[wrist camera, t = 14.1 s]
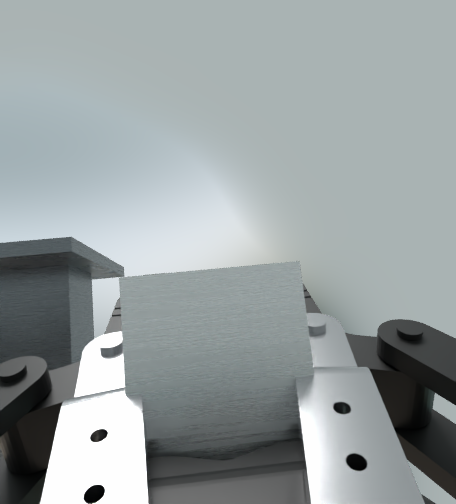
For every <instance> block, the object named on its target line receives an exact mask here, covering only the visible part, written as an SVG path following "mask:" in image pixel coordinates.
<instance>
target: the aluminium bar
mask: <svg viewBox="0 0 456 504" xmlns="http://www.w3.org/2000/svg"><path fill="white" fill-rule="evenodd" d="M119 283H120V303H121V323H122V342H123V362H124V381H125V396H126V395H135V394H142V401H143V408H144V416H145V423H146V430H147V437H148V457H149V458H155V457H163V456H172V455H173V456H183V457H192V458H201V459H211V460H221V461H225V460H230V459H233V458H236V457H239V456H242V455H245V454H248V453H250V452H253V451H256V450H259V449H262V448H265V447H267V446H270V445H273V444H276V443H282V442H291V441H299V440H300V437H299V430H298V425H297V406H296V383H295V377H301V376H310V375H314V367H313V360H312V352H311V344H310V336H309V329H308V321H307V313H306V306H305V298H304V290H303V283H302V275H301V267H300V261H296V262H285V263H274V264H263V265H252V266H243V267H242V266H241V267H230V268H220V269H208V270H198V271H187V272H177V273H165V274H154V275H143V276H132V277H121V278H119Z"/></svg>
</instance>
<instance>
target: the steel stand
mask: <svg viewBox="0 0 456 504" xmlns="http://www.w3.org/2000/svg"><path fill="white" fill-rule="evenodd" d="M111 277H112V278H113V277H124V267H122V266H121V265H119V264H117V263H115V262H114V261H112V260H110V259H109V258H107V257H105V256H103V255H102V254H100V253H98V252H96V251H95V250H93V249H91V248H90V247H88V246H86V245H84V244H83V243H81V242H79V241H77V240H76V239H74V238H72V237H66V238H53V239H42V240H30V241H19V242H7V243H0V364H1V363H4V362H6V361H8V360H11V359H15V358H19V357H24V356H36V357H40V358H42V359H44V360H45V361H46V363H47V367H48V370H49V371H51V370H54V369H57V368H61V367H64V366H68V365H71V364H74V363H76V362H79V361H81V357H82V352H83V349H84V348H85V346H86V345H87V344H88V343H89V342H91V341H92V340H94V328H93V327H94V326H93V302H92V279H102V278H111ZM2 457H3V454H2V451H1V448H0V459H1V458H2ZM39 504H40V503H39Z"/></svg>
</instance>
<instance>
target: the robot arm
mask: <svg viewBox="0 0 456 504" xmlns="http://www.w3.org/2000/svg"><path fill="white" fill-rule="evenodd" d="M273 264H274V263H273ZM262 265H263V264H262ZM162 274H165V273H162ZM152 275H154V274H152ZM303 290H304V298H305V306H306V313H307V321H308V329H309V336H310V344H311V352H312V360H313V367H314V375H310V376H301V377H295V383H296V406H297V425H298V430H299V437H300V440H299V441H291V442H282V443H276V444H273V445H270V446H267V447H265V448H262V449H259V450H256V451H253V452H250V453H248V454H245V455H242V456H239V457H236V458H233V459H230V460H225V461H221V460H211V459H201V458H192V457H183V456H173V455H172V456H163V457H155V458H149V457H148V437H147V430H146V423H145V416H144V408H143V401H142V394H135V395H126V396H125V381H124V362H123V342H122V323H121V303H120V298H119V299H118V300H117V303H116V306H115V310H114V311H113V313H112V317H111V318H110V321H109V324H108V326H107V329H106V331H105V334H104V335H102V336H100V337H98V338H96V339H94V340H92V341H91V342H89V343H88V344H87V345H86V346H85V348H84V349H83V352H82V357H81V361H79V362H76V363H74V364H71V365H68V366H64V367H61V368H57V369H54V370H51V371H49V370H48V367H47V363H46V361H45V360H44V359H42V358H40V357H36V356H24V357H19V358H15V359H11V360H8V361H6V362H4V363H1V364H0V448H1V451H2V454H3V457H2V458H1V459H0V504H39V503H40V504H435V503H434V502H432V501H431V500H429V499H428V498H426V497H425V496H423V495H422V494H421V493H420V490H419V488H418V486H417V483H416V481H415V478H414V476H413V473H412V471H411V468H410V466H409V464H408V461H407V460H409V461H410V462H411V463H412V464H413V465H414V466H416V467H417V468H418V469H419V470H421V471H422V472H423V473H424V474H425V475H427V476H428V477H429V478H430V479H432V480H433V481H434V482H435V483H436V484H438V485H439V486H440V487H441V488H443V489H444V490H445V491H446V492H447V493H449V494H450V495H451V496H452V497H453V498H455V499H456V424H454V423H453V422H451V421H450V420H448V419H447V418H445V417H444V416H442V415H441V414H439V413H438V412H436V411H435V410H433V409H432V408H433V401H434V394H435V393H437V394H438V395H440V396H441V397H443V398H445V399H446V400H448V401H450V402H451V403H453V404H454V405H456V338H453V337H451V336H449V335H447V334H445V333H443V332H441V331H439V330H436V329H434V328H432V327H430V326H428V325H426V324H423V323H420V322H416V321H412V320H402V319H398V320H390V321H387V322H384V323H382V324H381V325H380V326H379V328H378V334H377V337H371V336H360V335H352V334H348V333H345V332H344V329H343V327H342V325H341V323H340V322H339V321H338V320H337V319H335V318H333V317H331V316H328V315H325V314H322V313H321V312H320V310H319V308H318V307H317V305H316V304H315V302H314V301H313V299H312V298H311V296H310V294H309V292H308V291H307V289H306V288H305V286H304V284H303Z"/></svg>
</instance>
